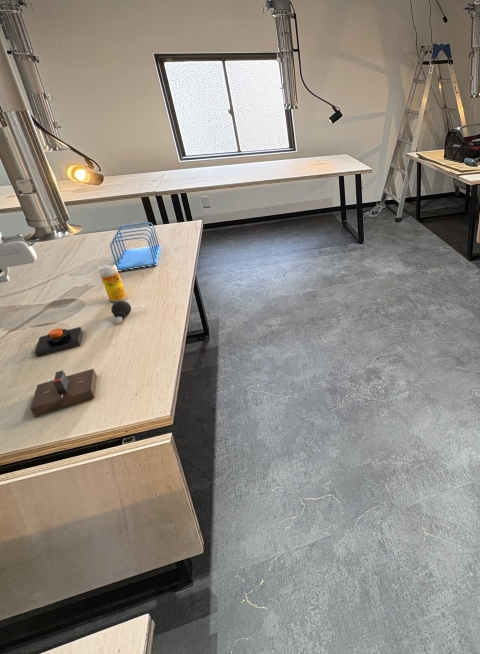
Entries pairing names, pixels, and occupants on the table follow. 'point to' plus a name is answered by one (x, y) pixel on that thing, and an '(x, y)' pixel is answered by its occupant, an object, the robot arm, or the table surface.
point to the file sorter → (136, 250)
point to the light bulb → (120, 310)
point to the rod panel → (77, 392)
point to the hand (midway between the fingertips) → (3, 281)
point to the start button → (56, 333)
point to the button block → (59, 342)
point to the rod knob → (61, 382)
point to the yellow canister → (112, 282)
